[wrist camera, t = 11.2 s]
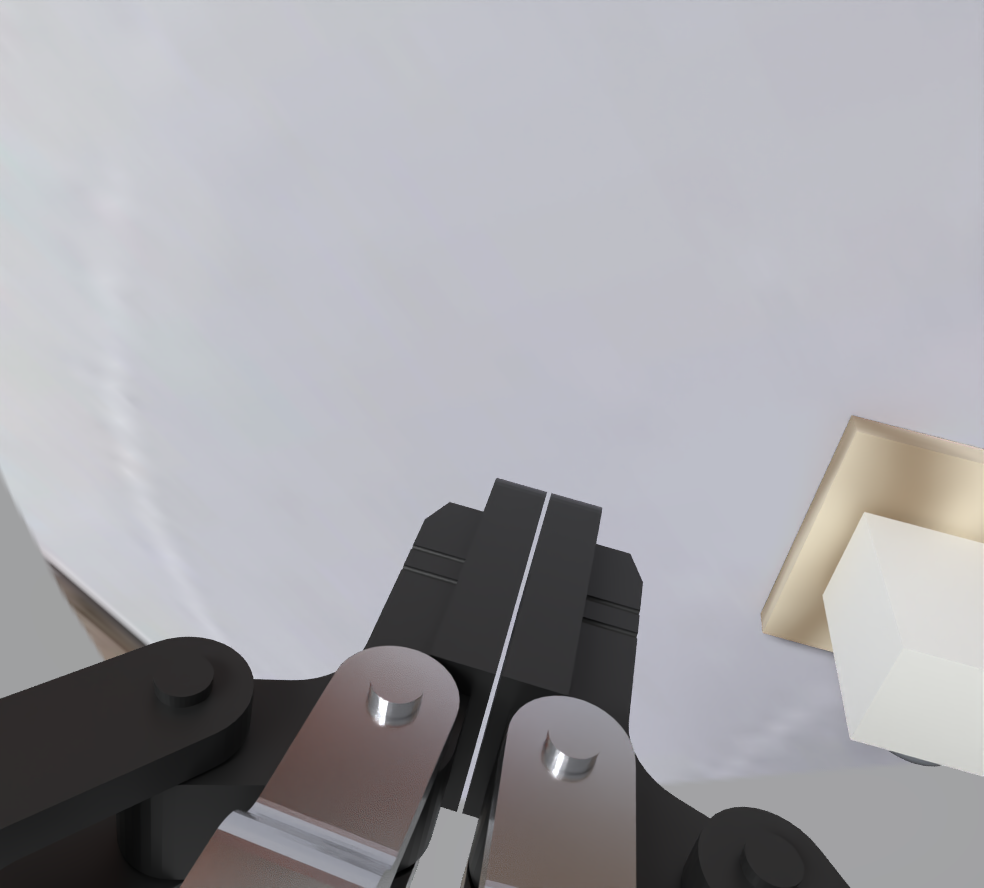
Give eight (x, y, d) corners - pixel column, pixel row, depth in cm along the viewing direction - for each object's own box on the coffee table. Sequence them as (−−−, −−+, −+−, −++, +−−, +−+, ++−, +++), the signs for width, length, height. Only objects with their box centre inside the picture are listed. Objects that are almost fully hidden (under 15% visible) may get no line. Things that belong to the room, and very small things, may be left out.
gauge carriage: (798, 644, 46) (819, 791, 38) (864, 511, 41) (903, 647, 34) (949, 685, 45) (1002, 843, 37) (1031, 556, 41) (1110, 704, 33)
